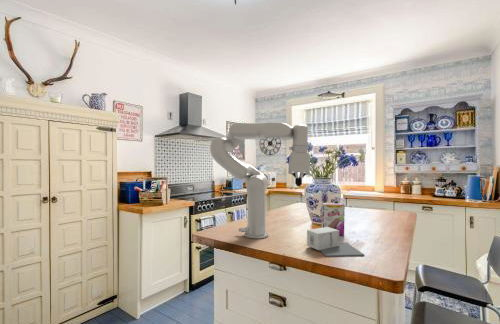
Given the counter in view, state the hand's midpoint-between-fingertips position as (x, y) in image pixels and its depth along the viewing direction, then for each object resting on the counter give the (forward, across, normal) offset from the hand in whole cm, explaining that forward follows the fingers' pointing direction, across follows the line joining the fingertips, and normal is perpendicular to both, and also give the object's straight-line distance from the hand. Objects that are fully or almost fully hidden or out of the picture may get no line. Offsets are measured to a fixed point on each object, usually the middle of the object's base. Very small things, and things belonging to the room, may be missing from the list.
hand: (298, 186), depth 130 cm
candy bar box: (+26, +21, +8) cm, 34 cm away
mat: (+26, +14, -18) cm, 34 cm away
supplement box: (+22, +3, -17) cm, 28 cm away
